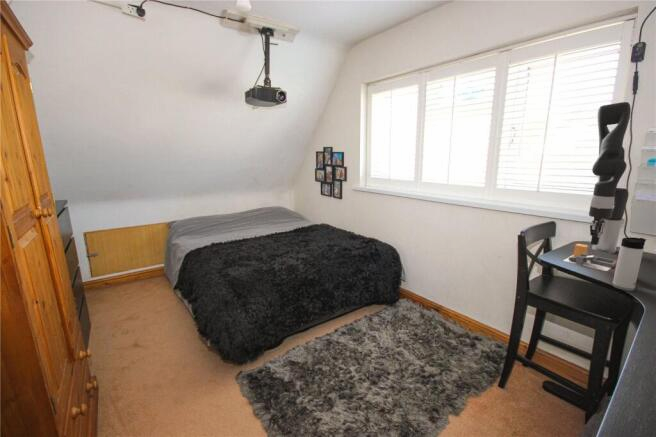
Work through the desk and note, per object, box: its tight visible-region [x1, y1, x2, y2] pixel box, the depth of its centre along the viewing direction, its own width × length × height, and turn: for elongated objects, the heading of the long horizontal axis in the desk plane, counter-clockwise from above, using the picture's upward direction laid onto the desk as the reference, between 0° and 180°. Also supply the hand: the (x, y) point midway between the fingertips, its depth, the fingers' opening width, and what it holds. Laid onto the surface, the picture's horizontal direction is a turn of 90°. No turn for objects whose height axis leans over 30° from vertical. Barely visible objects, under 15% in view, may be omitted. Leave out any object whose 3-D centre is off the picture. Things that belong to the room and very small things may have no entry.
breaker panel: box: [562, 254, 611, 272], centre depth 144 cm, size 15×16×2 cm
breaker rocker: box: [568, 255, 596, 261], centre depth 143 cm, size 4×9×1 cm, turn 36°
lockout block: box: [573, 243, 589, 256], centre depth 150 cm, size 4×4×6 cm
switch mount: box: [575, 254, 589, 266], centre depth 143 cm, size 6×2×3 cm, turn 126°
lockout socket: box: [590, 255, 617, 269], centre depth 142 cm, size 8×8×2 cm
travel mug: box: [612, 236, 647, 292], centre depth 118 cm, size 6×7×20 cm
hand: (594, 244), depth 138 cm, fingers closed
